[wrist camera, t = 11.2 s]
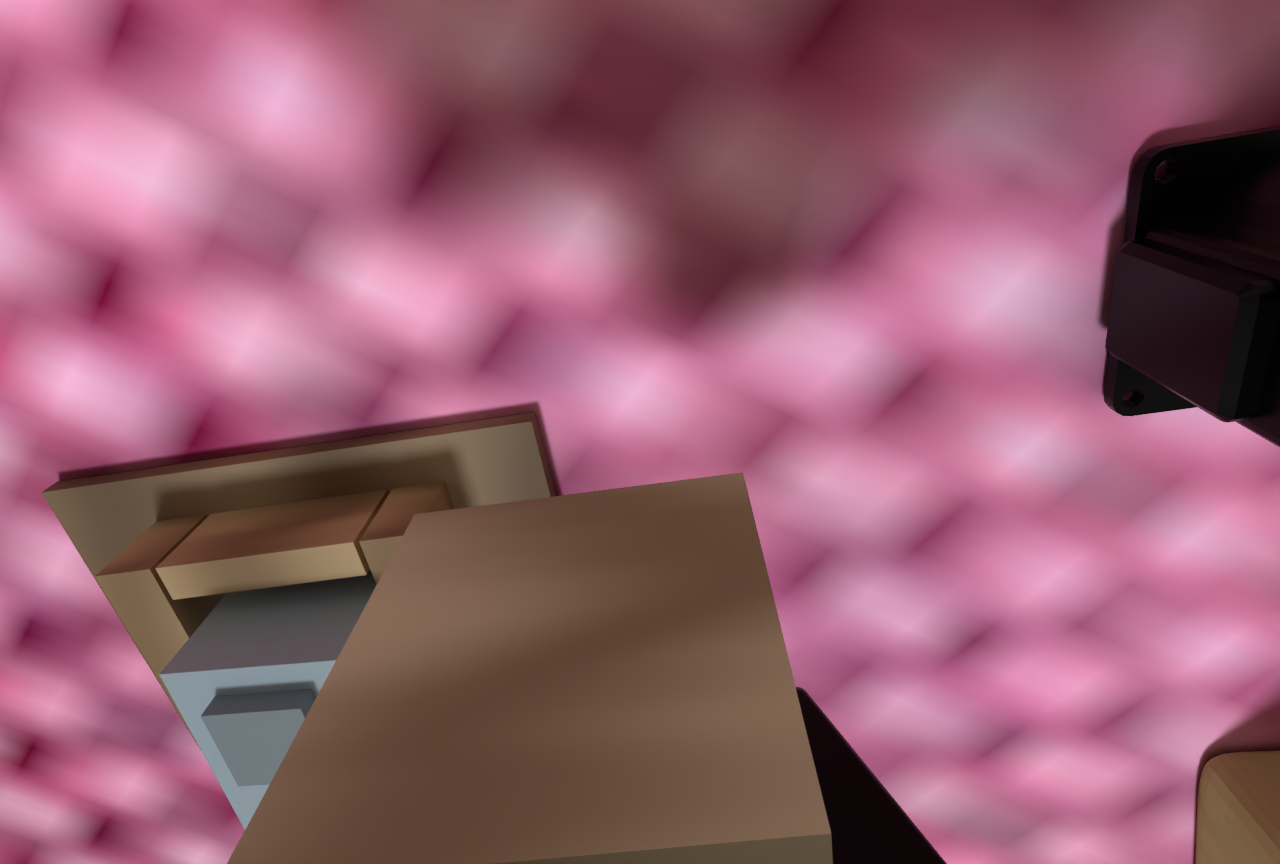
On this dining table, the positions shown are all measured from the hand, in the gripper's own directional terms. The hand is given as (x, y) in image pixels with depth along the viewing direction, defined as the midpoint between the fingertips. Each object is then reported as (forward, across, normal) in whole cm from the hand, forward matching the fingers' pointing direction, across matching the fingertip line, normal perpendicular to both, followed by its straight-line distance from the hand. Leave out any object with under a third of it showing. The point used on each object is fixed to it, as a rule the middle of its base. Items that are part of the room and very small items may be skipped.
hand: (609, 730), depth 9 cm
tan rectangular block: (+1, 0, 0) cm, 1 cm away
